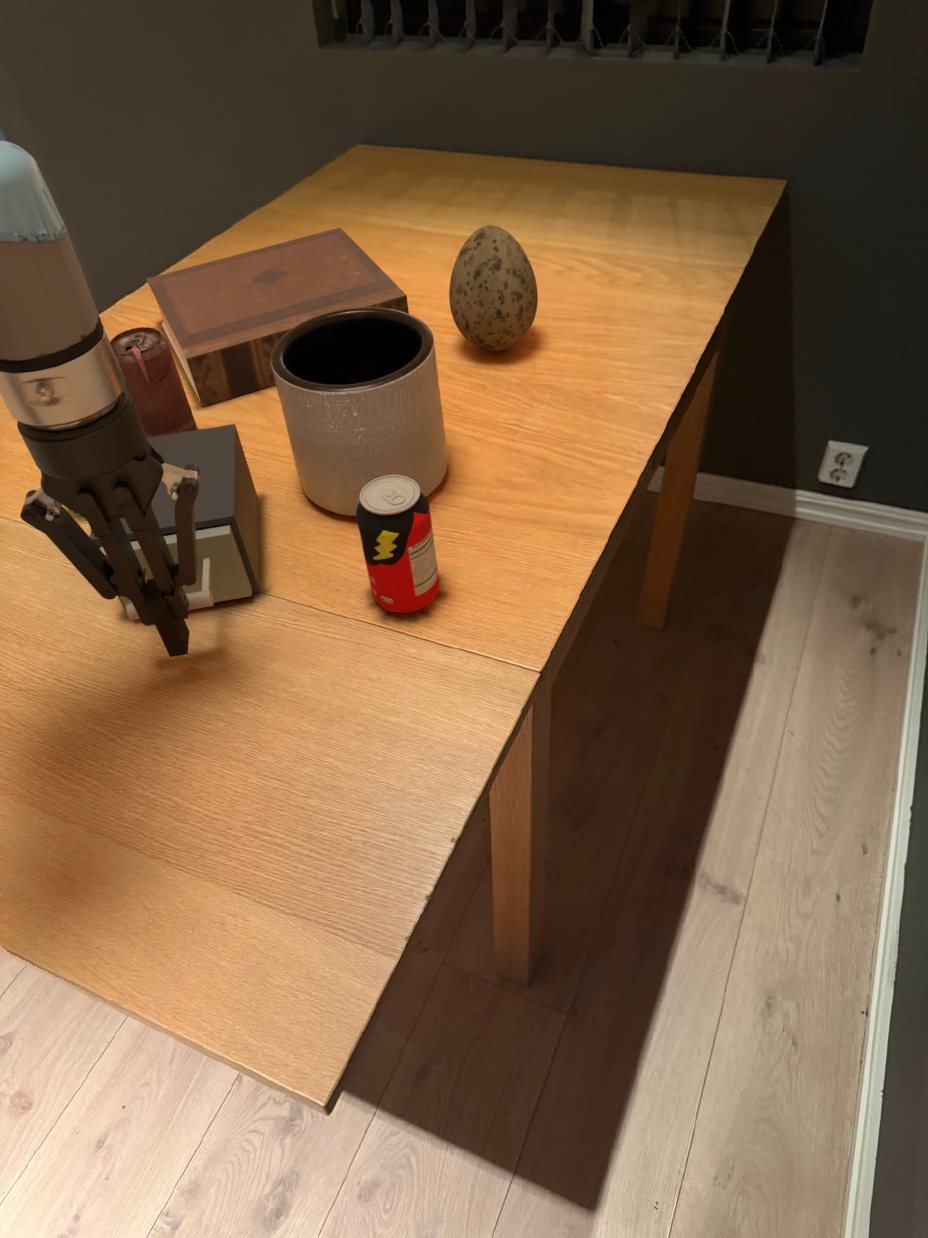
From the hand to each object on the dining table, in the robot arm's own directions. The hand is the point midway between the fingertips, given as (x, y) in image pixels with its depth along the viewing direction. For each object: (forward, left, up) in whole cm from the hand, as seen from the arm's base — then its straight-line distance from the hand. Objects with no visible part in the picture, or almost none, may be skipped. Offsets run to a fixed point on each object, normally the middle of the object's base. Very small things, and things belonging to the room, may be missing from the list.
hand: (179, 644), depth 75 cm
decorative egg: (+37, +47, -4) cm, 60 cm away
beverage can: (+20, +5, -4) cm, 21 cm away
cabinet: (0, +16, -4) cm, 16 cm away
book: (+10, +59, -4) cm, 60 cm away
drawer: (0, +11, -3) cm, 11 cm away
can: (-3, +35, -4) cm, 35 cm away
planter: (+19, +24, -4) cm, 31 cm away
